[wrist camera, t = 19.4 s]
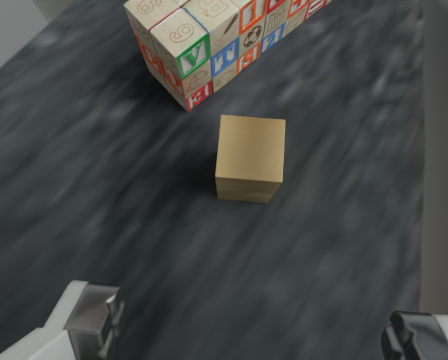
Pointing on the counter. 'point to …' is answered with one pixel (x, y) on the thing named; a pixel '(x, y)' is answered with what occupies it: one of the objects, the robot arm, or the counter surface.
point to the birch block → (249, 158)
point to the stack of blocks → (209, 39)
